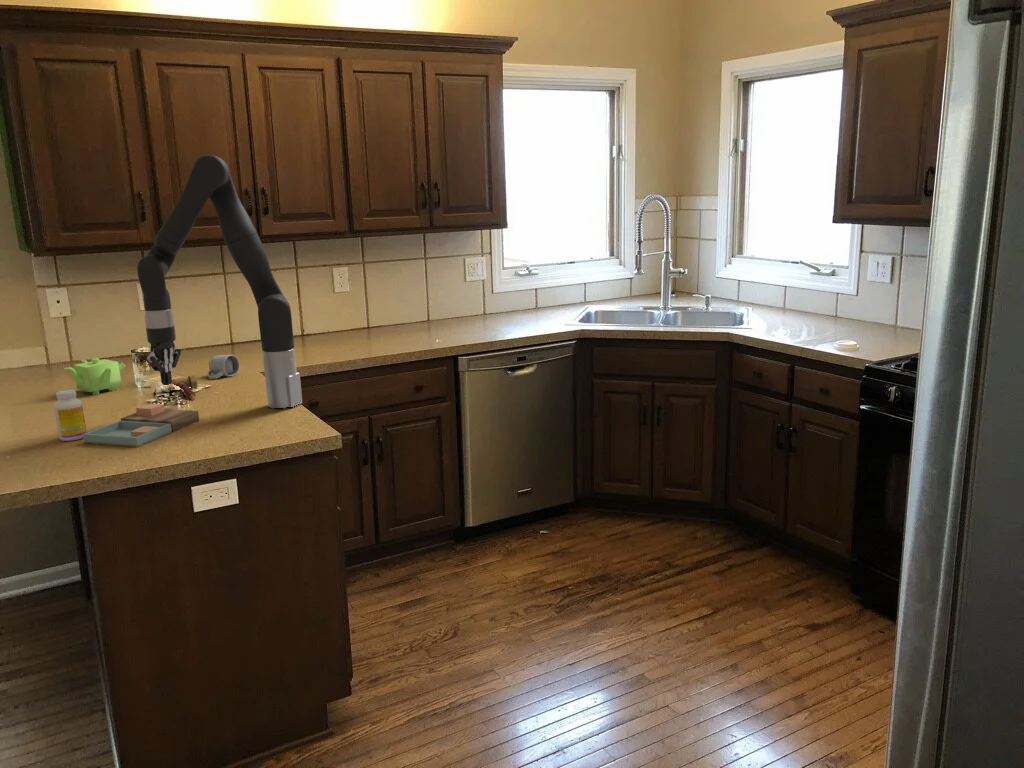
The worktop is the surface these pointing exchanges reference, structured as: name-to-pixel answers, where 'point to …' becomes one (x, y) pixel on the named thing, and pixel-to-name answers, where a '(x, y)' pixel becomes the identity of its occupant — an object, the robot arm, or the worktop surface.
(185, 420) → the dark brown wooden board
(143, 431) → the tile
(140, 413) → the tile
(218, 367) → the ceramic mug
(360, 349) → the worktop surface
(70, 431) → the supplement bottle
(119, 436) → the tray
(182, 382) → the gavel
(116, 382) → the kettle
